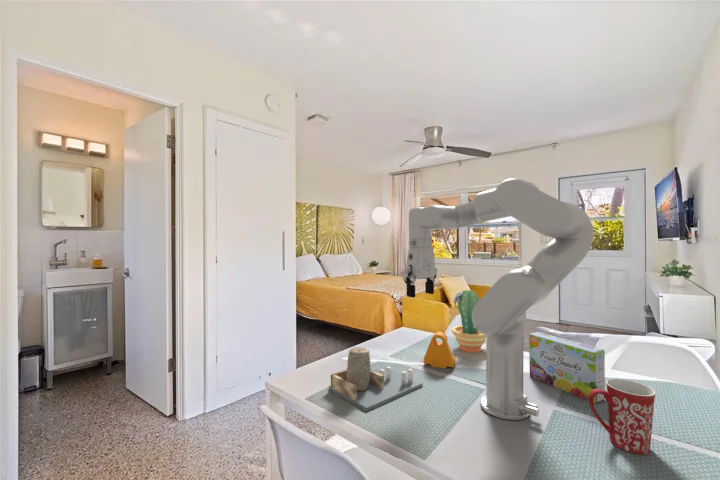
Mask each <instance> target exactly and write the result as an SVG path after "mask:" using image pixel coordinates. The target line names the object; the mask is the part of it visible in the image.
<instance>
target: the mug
mask: <svg viewBox="0 0 720 480" xmlns="http://www.w3.org/2000/svg"><path fill="white" fill-rule="evenodd" d="M605 385H606V390H605V391H604V390H601V389H593V390H591V391H590V393H589V395H588V400H587V402H588V406H589V409H590V410H591V412H592V414H593V415H594V417H595V418H596V420H597V421H598V423H600V425H601V426H602V427H603V428H604V429H605V431H606V432H608V436H609V440H610V442H611V443H612V444H613V445H614V446H615V447H617V448H619V449H621V450H623V451H626V452H629V453H632V454H635V455H648V454H649V453H650V452H651V444H652V433H653V432H652V431H653V419H654V410H655V397H656V395H657V392H656V390H655V389H654V388H652V387H651V386H649V385H647V384H644V383H641V382H637V381H635V380H630V379H624V378H616V377H615V378H608V379H606V380H605ZM597 394H602V395H603V396H604V397H605V402H606V403H607V411H608V412H607V414H608V417H607V418H608V424H607V423H606V422H605V421H604V420H603V419H602V418H601V416H600V415H599V414H598V413H597V411H596V408H595V406H594V403H593V399H594V397H595V395H597Z"/></svg>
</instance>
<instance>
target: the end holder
mask: <svg viewBox="0 0 720 480" xmlns="http://www.w3.org/2000/svg"><path fill="white" fill-rule="evenodd" d="M369 383H370V384H372V385H374V386H376V387H378V388H380V389H383V388H384V375H382V374H379V373H377V372H375V371H373V370H372V369H371V372H370V380H369ZM330 386H331V388H333V389H335V390H336V391H338V392H340V393H342V394H343V395H345V396H347V397H349V398H350V399H352V400H357V386H356V385H354V384H352V383H350V382H348V381H347V368H346V369H343V370H341V371H337V372H334V373H331V374H330Z"/></svg>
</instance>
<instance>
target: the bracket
mask: <svg viewBox="0 0 720 480" xmlns="http://www.w3.org/2000/svg"><path fill="white" fill-rule="evenodd" d="M437 339H440V340H441V342H439V341H438V340H437ZM455 363H456V355H453V353H452V351H451V347H450V346H449V343H448V336H447V334H446V333H445V332H443V331H436V332H435V333H434V334H433V336H432V337H431V339H430V342H429V344H428V346H427V349H426V351H425V355H424V357H423V364H427V365H430V367H433V368H439V369H447V368H448V367H449V368H454V367H455Z"/></svg>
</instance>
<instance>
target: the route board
mask: <svg viewBox="0 0 720 480" xmlns="http://www.w3.org/2000/svg"><path fill="white" fill-rule="evenodd" d="M372 371H375V372H377V373H379V374H382V375H384V388H383V389H380V388H378V387H376V386H374V385H372V384H370V383H369V384H368V387H367V389H366V390H364V391H357V400H352V399H350V398H349V397H347V396H345V395H343V394H342V393H340V392H338V391H336V390H335V389H333V388H331V385H329V386H328V390H330V391H331V392H332V393H334V394H336V395H338V396H340V397H341V398H343V399H344V400H346V401H348V402H350V403H352V404H353V405H355V406H356V407H358V408H360V409H362V410H363V411H365V412H368V411H371V410H373V409H376V408H378V407H380V406H382V405H384V404H386V403H388V402H391V401H393V400H395V399H397V398H400V397H402V396H404V395H406V394H408V393H411V392H413V391H415V390H418V389H420V388H421V387H422V388H423V385H424V384H423V382H421V381H418V380H416V379H414V377H413V376H414V370H413V369H412V368H409V369H408V368H407V371H405V370H404V371H403V370H402V371H401V373H400V372H397V371H394V370H393V369H392V367H391V366H386V367H385V366H382V367H379V368H376V369H374V370H372Z"/></svg>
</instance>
